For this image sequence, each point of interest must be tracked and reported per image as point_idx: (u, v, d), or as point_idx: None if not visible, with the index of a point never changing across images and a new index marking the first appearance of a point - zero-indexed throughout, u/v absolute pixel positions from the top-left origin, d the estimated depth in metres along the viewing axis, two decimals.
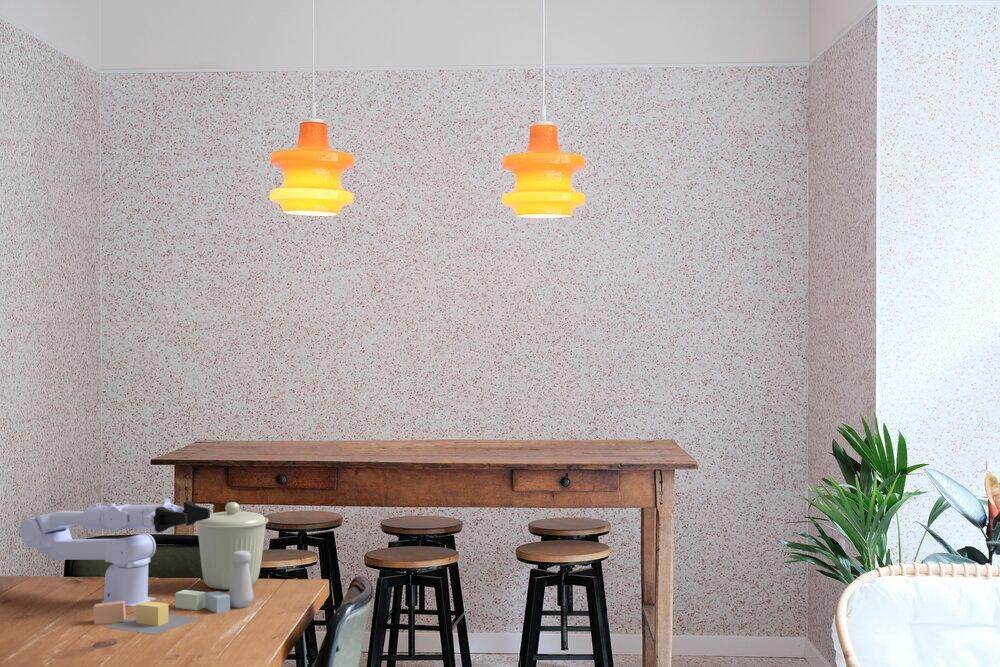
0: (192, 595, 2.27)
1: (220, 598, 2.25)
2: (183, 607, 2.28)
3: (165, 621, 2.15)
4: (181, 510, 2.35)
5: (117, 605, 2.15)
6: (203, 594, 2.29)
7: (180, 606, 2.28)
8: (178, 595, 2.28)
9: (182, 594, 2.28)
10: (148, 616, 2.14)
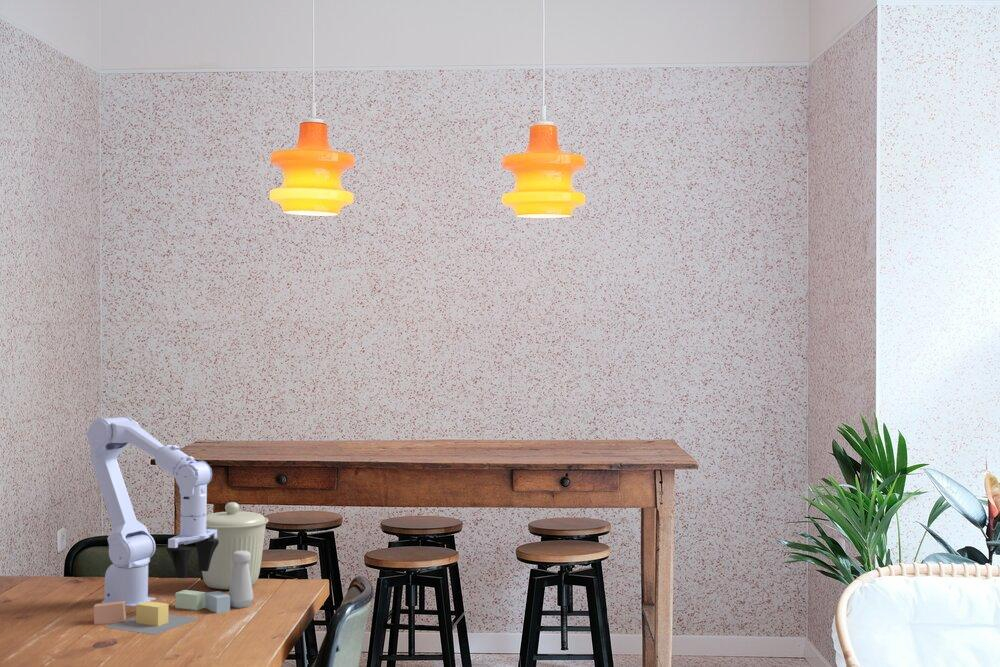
0: (192, 595, 2.27)
1: (220, 598, 2.25)
2: (183, 607, 2.28)
3: (165, 621, 2.15)
4: None
5: (117, 605, 2.15)
6: (203, 594, 2.29)
7: (180, 606, 2.28)
8: (178, 595, 2.28)
9: (182, 594, 2.28)
10: (148, 616, 2.14)
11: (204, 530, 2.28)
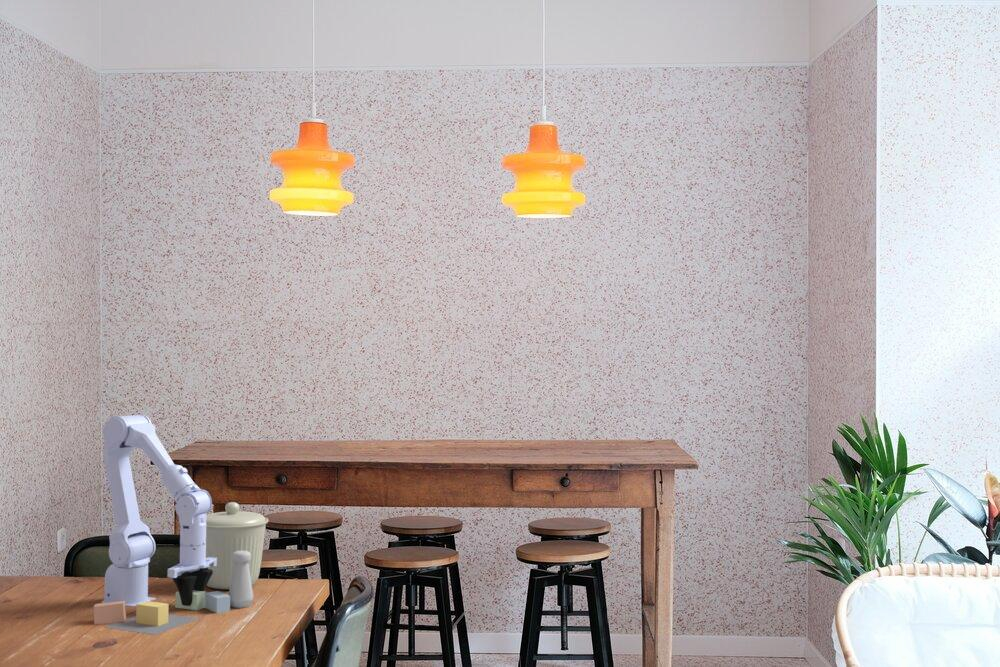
0: None
1: (220, 598, 2.24)
2: (183, 607, 2.28)
3: (165, 621, 2.15)
4: None
5: (117, 605, 2.15)
6: (203, 593, 2.28)
7: (180, 605, 2.28)
8: (178, 595, 2.28)
9: None
10: (148, 616, 2.14)
11: (203, 559, 2.28)
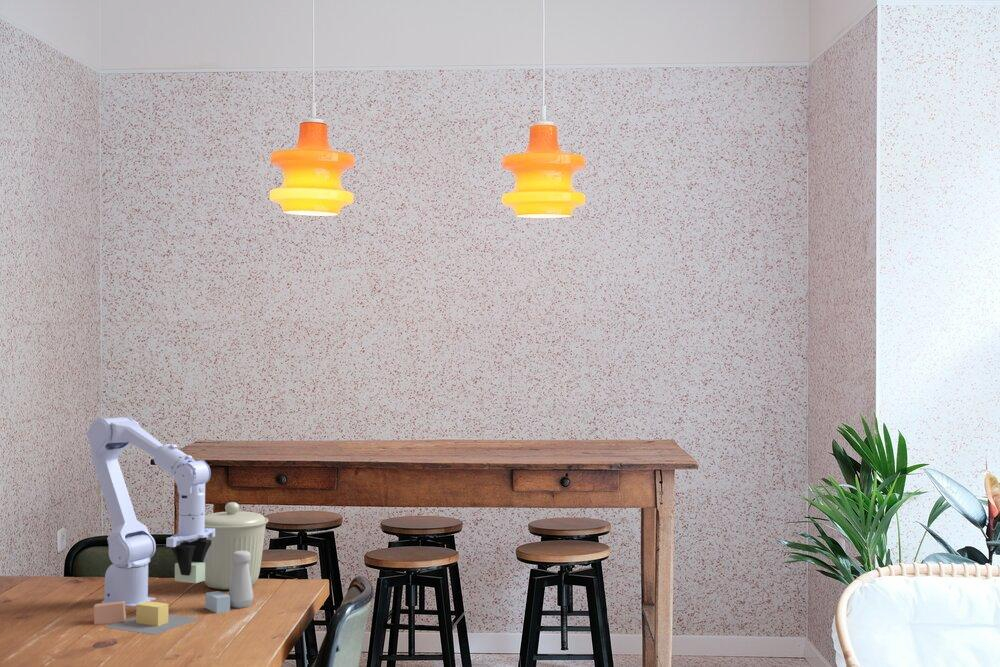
0: (191, 565, 2.26)
1: (220, 598, 2.25)
2: (182, 578, 2.27)
3: (165, 621, 2.15)
4: None
5: (117, 605, 2.15)
6: (202, 565, 2.28)
7: (179, 577, 2.27)
8: (177, 566, 2.28)
9: None
10: (148, 616, 2.14)
11: (202, 529, 2.28)
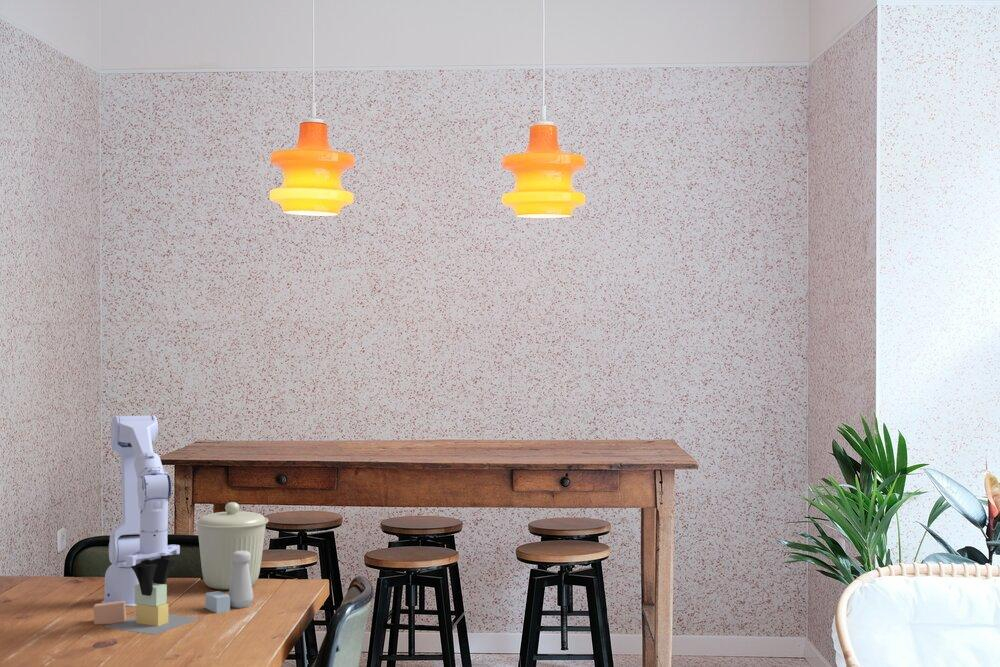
0: None
1: (220, 598, 2.24)
2: (142, 601, 2.15)
3: (165, 621, 2.15)
4: None
5: (117, 605, 2.15)
6: (164, 586, 2.15)
7: (139, 599, 2.15)
8: (137, 588, 2.15)
9: None
10: (148, 616, 2.14)
11: (165, 546, 2.15)
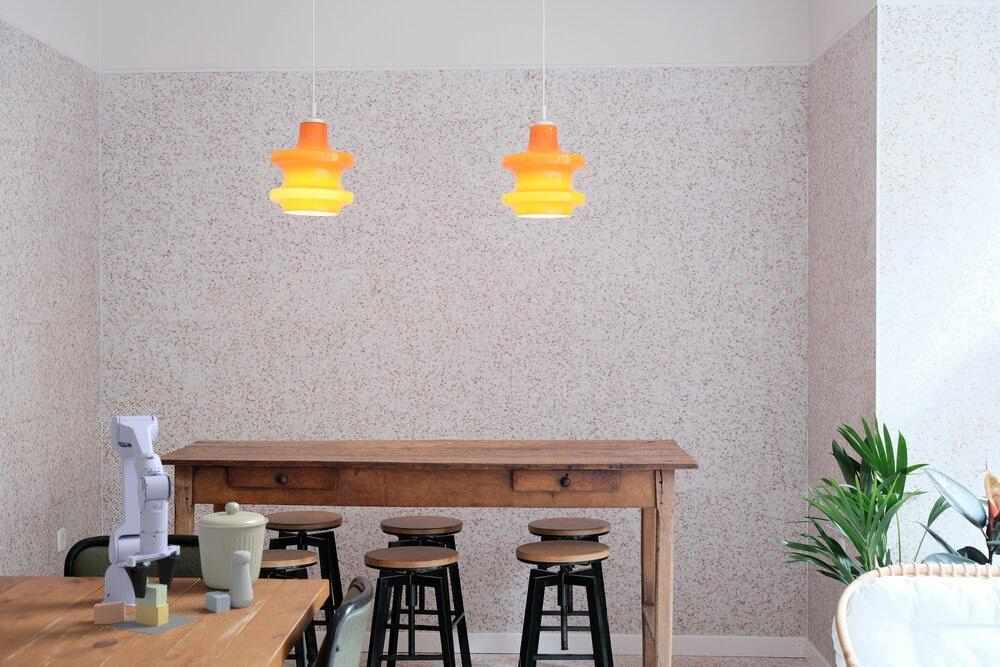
0: (152, 588, 2.14)
1: (220, 598, 2.24)
2: (142, 601, 2.15)
3: (165, 621, 2.15)
4: None
5: (117, 605, 2.15)
6: (164, 587, 2.15)
7: (139, 600, 2.15)
8: None
9: None
10: (148, 616, 2.14)
11: (165, 547, 2.15)
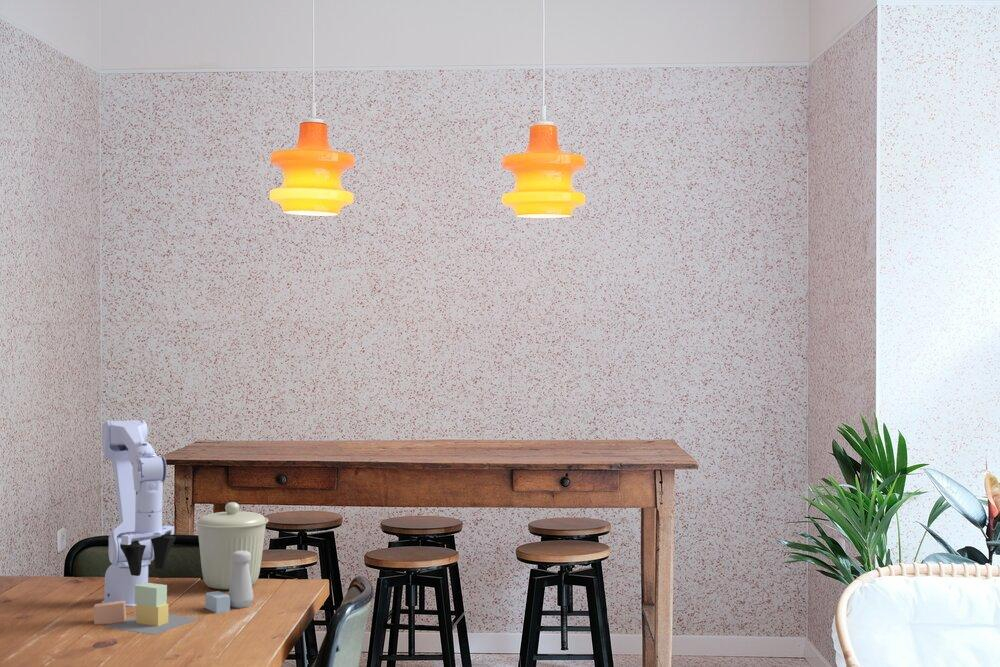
0: (152, 588, 2.14)
1: (220, 598, 2.24)
2: (142, 601, 2.15)
3: (165, 621, 2.15)
4: None
5: (117, 605, 2.15)
6: (164, 587, 2.15)
7: (139, 600, 2.15)
8: (137, 588, 2.15)
9: (142, 587, 2.15)
10: (148, 616, 2.14)
11: (159, 527, 2.22)
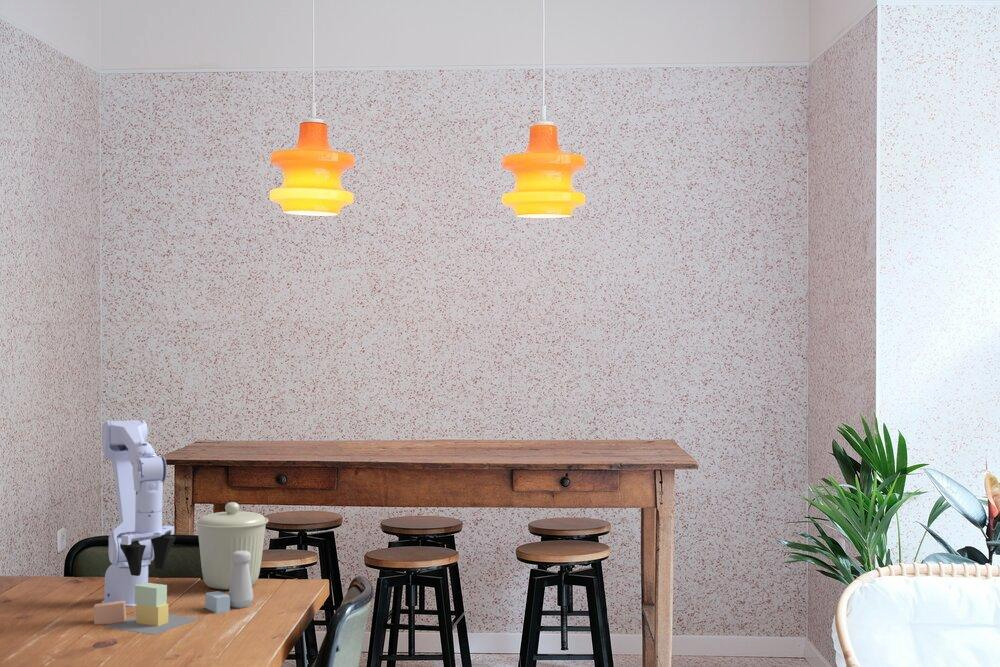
0: (152, 588, 2.14)
1: (220, 598, 2.24)
2: (142, 601, 2.15)
3: (165, 621, 2.15)
4: None
5: (117, 605, 2.15)
6: (164, 587, 2.15)
7: (139, 600, 2.15)
8: (137, 588, 2.15)
9: (142, 587, 2.15)
10: (148, 616, 2.14)
11: (159, 527, 2.22)
